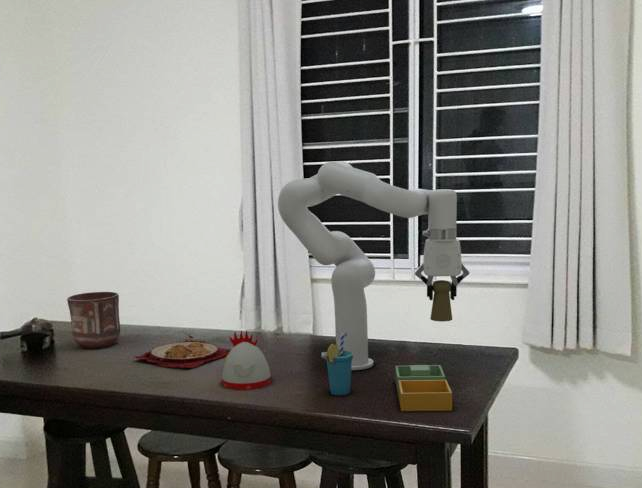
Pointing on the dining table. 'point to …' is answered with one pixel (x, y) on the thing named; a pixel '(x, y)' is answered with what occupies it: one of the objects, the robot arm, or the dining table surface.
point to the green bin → (404, 374)
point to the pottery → (95, 319)
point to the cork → (441, 301)
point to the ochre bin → (424, 395)
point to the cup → (339, 368)
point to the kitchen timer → (245, 365)
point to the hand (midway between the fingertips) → (441, 298)
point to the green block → (419, 370)
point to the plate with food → (184, 354)
